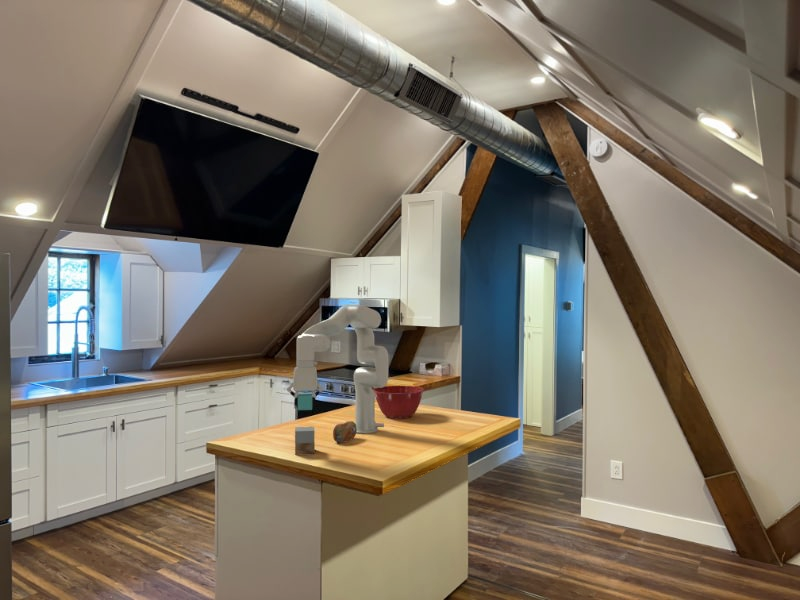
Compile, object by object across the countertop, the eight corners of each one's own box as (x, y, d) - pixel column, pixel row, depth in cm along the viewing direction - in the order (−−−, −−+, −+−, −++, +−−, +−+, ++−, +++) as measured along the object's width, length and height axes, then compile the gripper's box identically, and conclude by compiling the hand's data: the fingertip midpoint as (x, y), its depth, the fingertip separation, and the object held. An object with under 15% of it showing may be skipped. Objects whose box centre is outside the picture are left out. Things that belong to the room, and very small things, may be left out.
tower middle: (314, 438, 245) (314, 426, 245) (314, 442, 237) (314, 430, 237) (295, 438, 243) (295, 427, 243) (295, 443, 235) (295, 431, 236)
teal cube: (312, 407, 244) (312, 393, 244) (312, 409, 238) (312, 395, 238) (298, 407, 243) (298, 393, 243) (297, 410, 237) (297, 395, 237)
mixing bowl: (367, 420, 306) (367, 391, 306) (380, 410, 334) (380, 384, 334) (418, 422, 300) (418, 393, 300) (427, 412, 328) (427, 386, 328)
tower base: (314, 449, 245) (314, 438, 245) (314, 454, 237) (314, 442, 237) (295, 450, 243) (295, 438, 243) (295, 455, 235) (295, 443, 236)
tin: (337, 444, 253) (337, 425, 254) (331, 443, 255) (331, 424, 255) (357, 437, 266) (357, 420, 266) (351, 437, 268) (351, 419, 268)
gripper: (325, 363, 245) (325, 404, 245) (285, 363, 243) (284, 405, 243) (326, 365, 238) (325, 408, 238) (284, 365, 235) (283, 408, 235)
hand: (305, 406), depth 240 cm, fingers closed on teal cube, 6 cm apart
